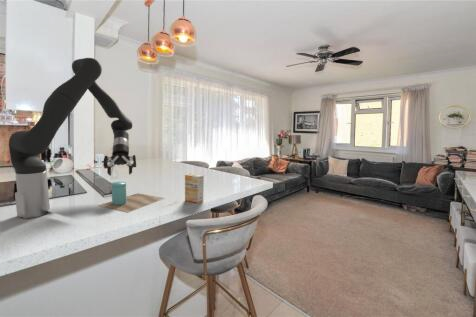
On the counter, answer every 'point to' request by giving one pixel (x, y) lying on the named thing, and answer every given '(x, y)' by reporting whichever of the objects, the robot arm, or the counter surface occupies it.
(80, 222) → the counter surface
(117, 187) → the teal cylinder
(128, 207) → the post stand
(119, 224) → the counter surface
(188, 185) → the supplement box
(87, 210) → the counter surface
